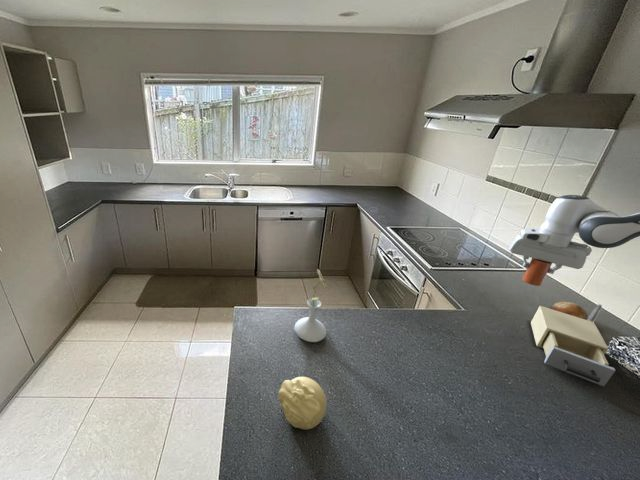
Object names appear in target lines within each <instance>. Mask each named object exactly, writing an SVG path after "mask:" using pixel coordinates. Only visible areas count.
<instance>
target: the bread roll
mask: <svg viewBox="0 0 640 480" xmlns="http://www.w3.org/2000/svg"><path fill="white" fill-rule="evenodd" d="M551 309H553V310H556V311H559V312H562V313H565V314H569V315H572V316H575V317H578V318H582V319H585V320H587V318H588V317H589V315H588V312H587V311H586V310H585V309H584V307H582V306H580V305H579V304H577V303H575V302H570V301H558V302H556V303H554V304H553V305H552V307H551Z"/></svg>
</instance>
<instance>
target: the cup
mask: <svg viewBox="0 0 640 480" xmlns="http://www.w3.org/2000/svg"><path fill="white" fill-rule="evenodd" d="M529 263H530V266H529V268H527V267H526V269H525V271H524V274H523V276H522V278H521V280H522V281H523V283H526V284H529V285H530V286H535V287H541V286H542V285H543V282H544V280H545V279H546V276H547V275H548V274H549V273H548V271H549V269H550V268H552V265H553V263H550V262H546V261H542V260H538V259H534V258H531V259H530V261H529Z"/></svg>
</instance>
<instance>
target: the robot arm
mask: <svg viewBox="0 0 640 480" xmlns="http://www.w3.org/2000/svg"><path fill="white" fill-rule="evenodd" d="M575 234H578V236H579V238H580V240H581V241H582V242H584V243H581V242H578V241H577V242H576V241H572V240H573V238H574V236H575ZM639 237H640V212H637V213H633V214H629V215H623V216H620V215H619V214H618V213H616V212H615V211H612V210H611V209H610V210H609V209H607V208H604V207H602V206H600V205H599V204H597V203H595V202H594V201H593V200H591V198H590V197H588V196H585V195H579V194H578V195H577V194H566V195H565V194H563V195H561V196H558V197H557V198H555V199H554V200H553V201H552V203H551V205H550V206H549V208H548V210H547V212H546V214H545V219H544V221H543V223H541V225H540V227H536V228H535V227H534V228H533V227H529V228H522V229H521V230H520V234H517V235H516V236H515V237H514V238H513V239H512V242H511V243H510V245H509V248H508V251H509V252H510V253H511V254H513V255H519V256H522V258H523V261H524V262H523V264H522V267H523V268H526V269H527V268H529V266H530V261H527V260H529V258H531V259H532V258H534V259H538V260H542V261H546V262H550V263H552V264H554V266H553V267H552V266H551V267H550V269H549V271H548V273H547V274H551V275H554V273H555V271H558V270H560V269H561V268H562V267H566V268H571V269H575V270H580V269H582V268H583V267H584V265H585V264H586V261H587V257H589V256H590V255H591V253H592V251H593V248H597V249H613V248H617V247H620V246H622V245H624V244H627V243H628V242H630V241H631V240H634V239H636V238H639ZM592 247H593V248H592Z"/></svg>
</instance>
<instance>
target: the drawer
mask: <svg viewBox="0 0 640 480" xmlns="http://www.w3.org/2000/svg"><path fill="white" fill-rule="evenodd" d="M542 344H543V348H544V349H543V348H542V349H543V350H544V354H545V355H544V356H545V359H544V364H545V365H548V366H549V367H550V366H551V367H553V368H555V369H558V370H560V371H563V372H565V373H568V374H571V375H573V376H576V377H579V378H581V379H584V380H586V381H589V382H591V383H594V384H597V385H598V386H602V387H605V386H606V384H607V383H608V382H609V380H610V379H611V378H612V377H613V375H614V374H615V372H616V369H615V367H613V366H609V365H610V363H609V362H608V360H607V358H606V356H605V355H604V354H603V352H602V350H601V348H599V347H596V346H593V345H590V344H587V343H584V342H581V341H578V340H575V339H572V338H569V337H566V336H564V335H561V334H558V333H555V332H552V331H548V333H547V335H546V337H545V338H544V340H543V342H542Z"/></svg>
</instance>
